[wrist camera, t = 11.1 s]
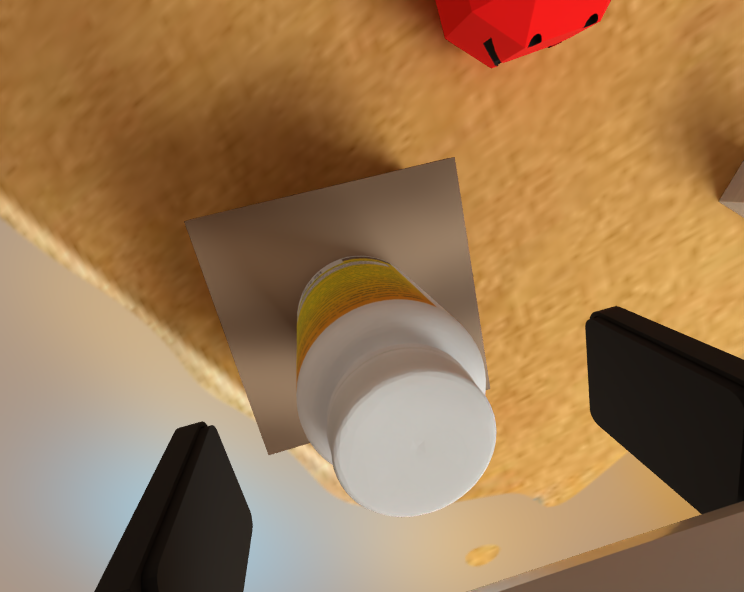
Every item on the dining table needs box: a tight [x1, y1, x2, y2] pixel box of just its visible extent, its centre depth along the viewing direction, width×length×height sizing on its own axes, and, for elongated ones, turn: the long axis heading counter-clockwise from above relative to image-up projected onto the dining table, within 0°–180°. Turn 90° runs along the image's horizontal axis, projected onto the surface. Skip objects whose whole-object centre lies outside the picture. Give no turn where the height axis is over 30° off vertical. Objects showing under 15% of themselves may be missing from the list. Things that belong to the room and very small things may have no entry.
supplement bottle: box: [296, 256, 496, 517], centre depth 14 cm, size 6×6×10 cm
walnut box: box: [184, 157, 490, 455], centre depth 22 cm, size 12×12×7 cm
